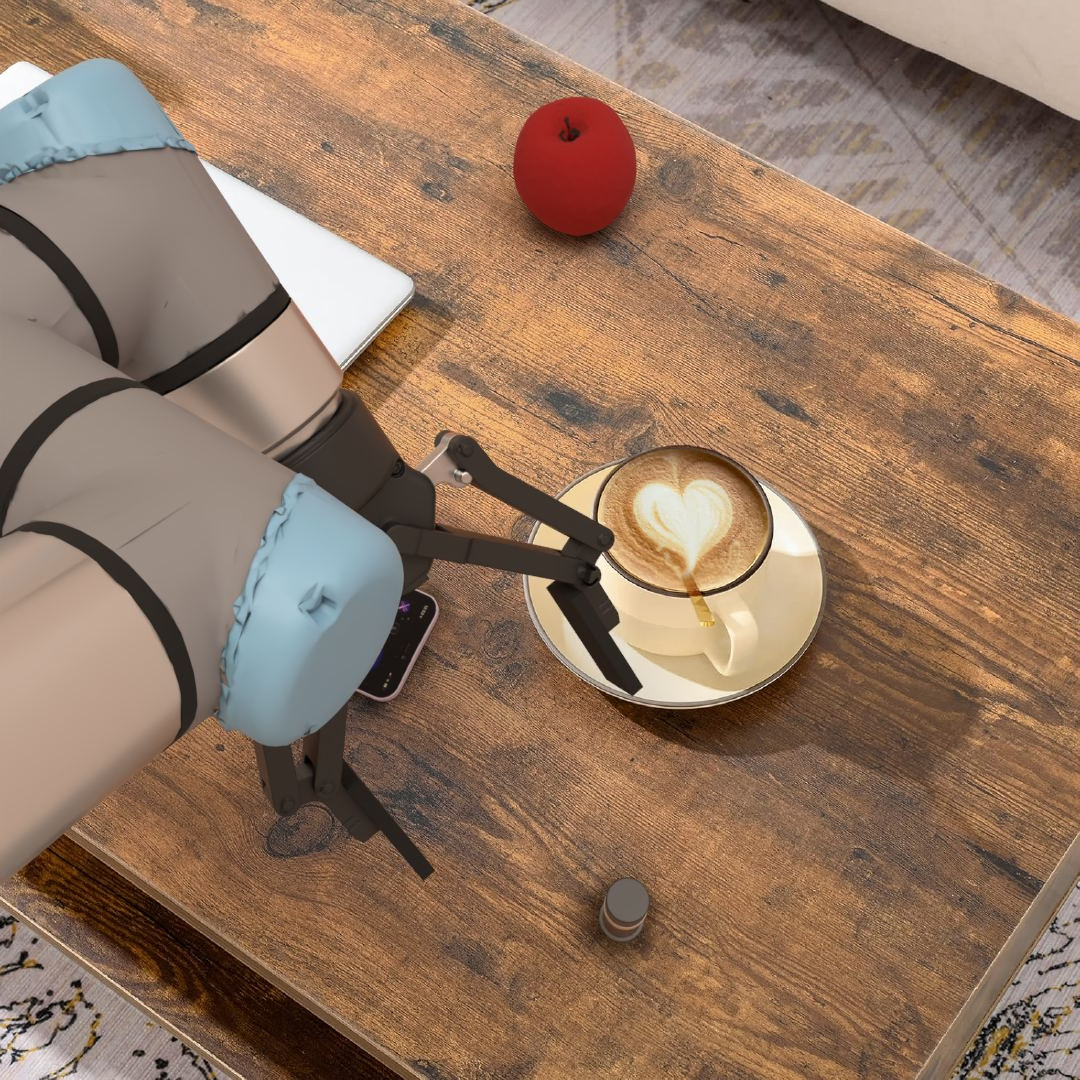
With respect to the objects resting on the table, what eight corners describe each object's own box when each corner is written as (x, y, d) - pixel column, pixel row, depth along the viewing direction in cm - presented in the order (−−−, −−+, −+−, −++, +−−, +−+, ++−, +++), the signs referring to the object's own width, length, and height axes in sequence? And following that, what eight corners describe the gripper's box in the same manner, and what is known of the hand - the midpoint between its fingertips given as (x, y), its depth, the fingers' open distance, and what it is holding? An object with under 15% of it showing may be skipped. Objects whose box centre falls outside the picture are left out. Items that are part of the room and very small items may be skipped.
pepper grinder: (620, 952, 66) (626, 938, 57) (589, 916, 67) (591, 897, 58) (653, 920, 67) (664, 902, 58) (622, 885, 68) (629, 862, 58)
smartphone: (243, 514, 77) (444, 600, 74) (245, 518, 78) (445, 603, 75) (184, 613, 75) (390, 705, 72) (187, 616, 75) (392, 708, 72)
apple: (655, 232, 86) (664, 136, 77) (542, 272, 85) (538, 179, 76) (607, 142, 89) (610, 40, 80) (497, 179, 88) (488, 80, 79)
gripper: (468, 266, 55) (665, 595, 64) (19, 595, 49) (306, 906, 58) (537, 266, 49) (746, 633, 58) (29, 645, 43) (350, 987, 52)
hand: (525, 771), depth 58 cm, fingers open, 13 cm apart
